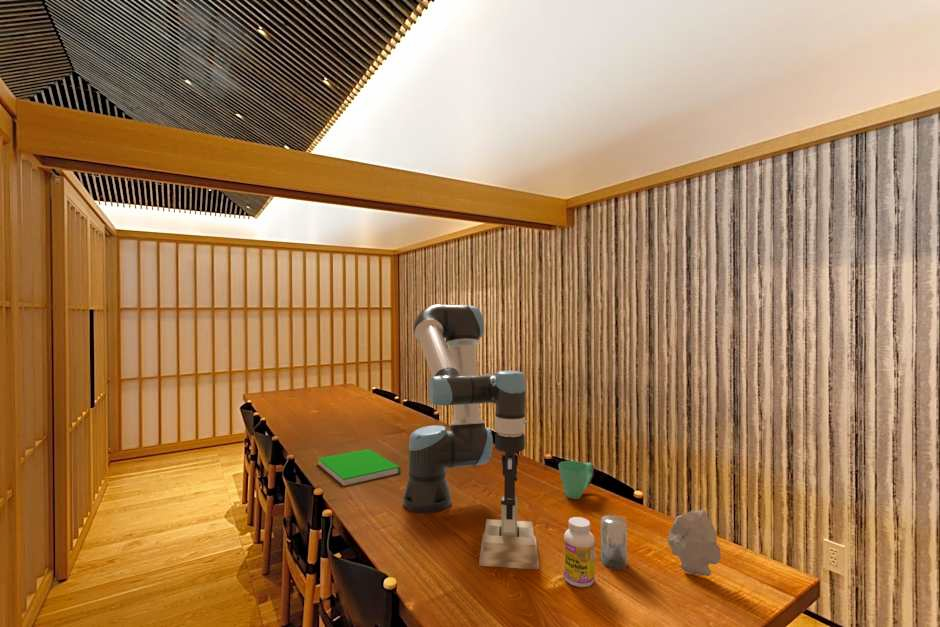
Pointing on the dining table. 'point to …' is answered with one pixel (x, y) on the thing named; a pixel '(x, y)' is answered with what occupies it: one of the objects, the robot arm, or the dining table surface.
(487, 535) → the socket block
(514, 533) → the square peg
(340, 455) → the book
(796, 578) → the dining table surface
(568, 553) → the supplement bottle
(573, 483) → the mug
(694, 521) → the stone tool
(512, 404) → the robot arm
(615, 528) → the clear glass cylinder
